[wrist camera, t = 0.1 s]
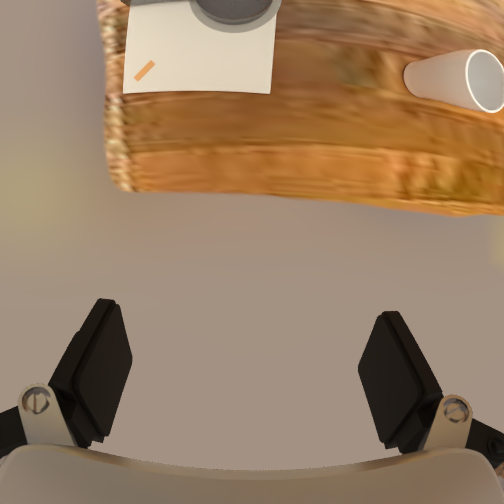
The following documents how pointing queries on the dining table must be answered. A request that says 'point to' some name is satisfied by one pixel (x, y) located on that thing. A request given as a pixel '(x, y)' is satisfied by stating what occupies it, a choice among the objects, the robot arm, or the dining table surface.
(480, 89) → the drinking glass
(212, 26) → the dial base
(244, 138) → the dining table surface
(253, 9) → the dial
